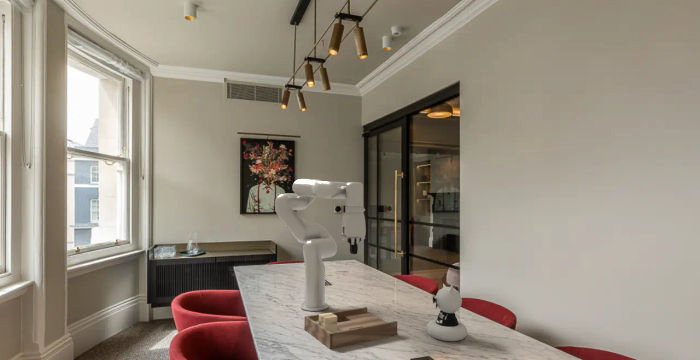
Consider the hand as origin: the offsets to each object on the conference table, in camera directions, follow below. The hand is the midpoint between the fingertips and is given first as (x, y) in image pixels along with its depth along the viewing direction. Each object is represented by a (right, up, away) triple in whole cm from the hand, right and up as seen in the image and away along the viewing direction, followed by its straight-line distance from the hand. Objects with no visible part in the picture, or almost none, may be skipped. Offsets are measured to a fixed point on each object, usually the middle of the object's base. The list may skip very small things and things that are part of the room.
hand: (353, 253), depth 166 cm
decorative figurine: (+34, -27, -22) cm, 49 cm away
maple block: (-10, -23, -25) cm, 35 cm away
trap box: (-2, -26, -19) cm, 33 cm away
